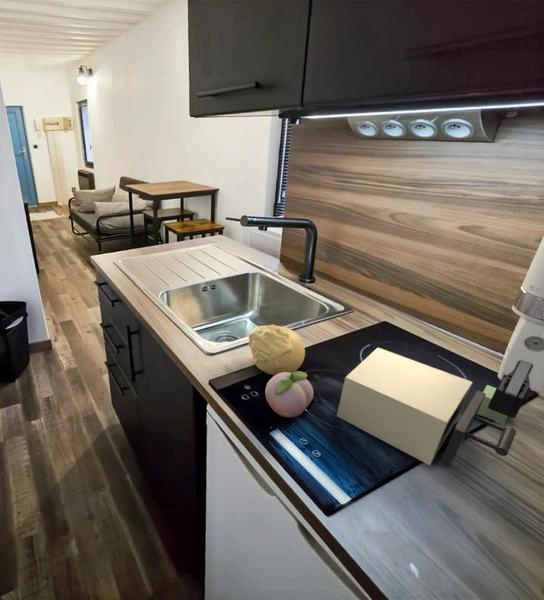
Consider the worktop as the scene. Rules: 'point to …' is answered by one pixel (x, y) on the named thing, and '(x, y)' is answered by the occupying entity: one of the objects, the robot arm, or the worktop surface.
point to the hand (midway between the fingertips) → (501, 410)
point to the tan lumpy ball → (276, 349)
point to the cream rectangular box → (402, 402)
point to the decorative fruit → (289, 393)
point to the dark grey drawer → (463, 430)
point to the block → (488, 412)
